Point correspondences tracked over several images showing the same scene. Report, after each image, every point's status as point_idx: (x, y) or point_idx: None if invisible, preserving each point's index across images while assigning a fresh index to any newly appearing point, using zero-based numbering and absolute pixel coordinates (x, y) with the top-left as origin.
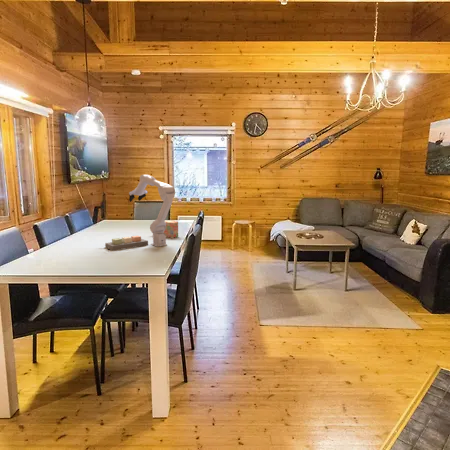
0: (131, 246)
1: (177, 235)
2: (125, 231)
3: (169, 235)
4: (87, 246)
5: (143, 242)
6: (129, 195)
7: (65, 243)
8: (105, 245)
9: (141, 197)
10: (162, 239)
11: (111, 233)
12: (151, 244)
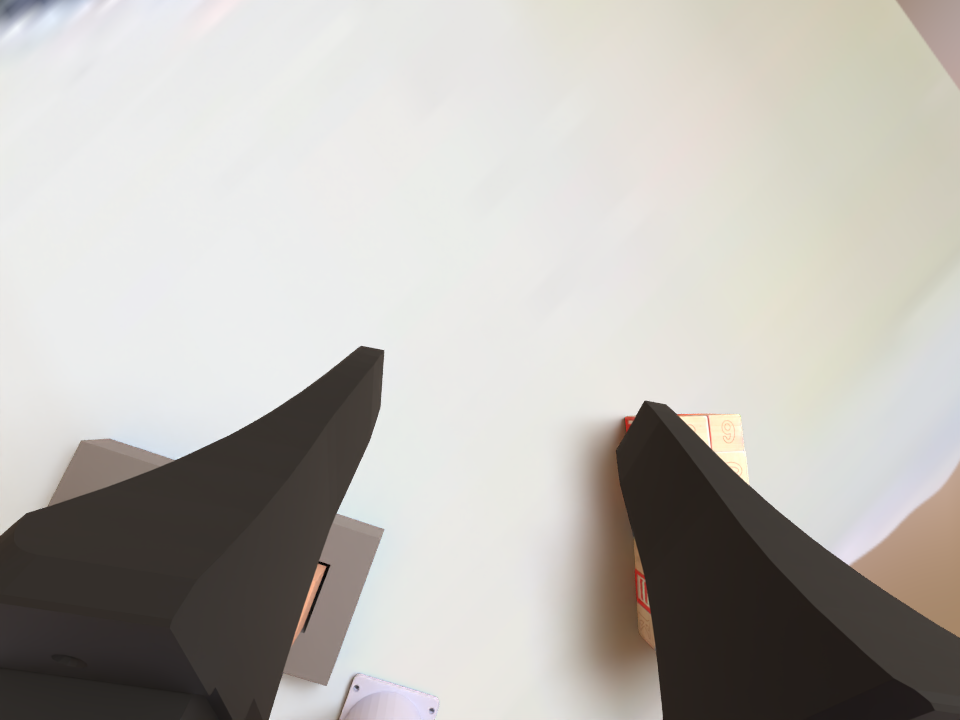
0: None
1: None
2: (622, 133)
3: (645, 597)
4: (76, 295)
5: (288, 668)
6: (219, 442)
7: (86, 82)
8: (96, 441)
9: (658, 608)
10: None
11: (515, 100)
12: (350, 687)
